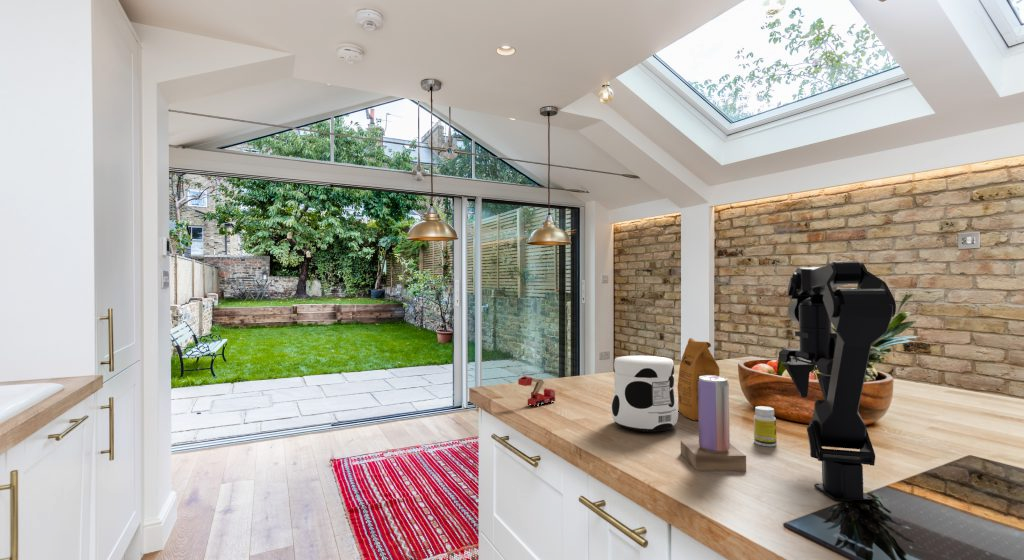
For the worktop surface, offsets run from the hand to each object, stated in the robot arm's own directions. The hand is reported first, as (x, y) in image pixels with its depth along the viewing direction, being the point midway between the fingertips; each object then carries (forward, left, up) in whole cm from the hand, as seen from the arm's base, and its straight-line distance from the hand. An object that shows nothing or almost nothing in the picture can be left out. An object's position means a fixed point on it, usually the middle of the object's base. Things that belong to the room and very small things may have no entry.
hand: (816, 402), depth 100 cm
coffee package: (+39, +11, -13) cm, 43 cm away
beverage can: (+1, +21, -10) cm, 23 cm away
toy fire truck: (+52, +57, -13) cm, 78 cm away
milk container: (+28, +29, -13) cm, 42 cm away
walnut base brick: (+2, +21, -13) cm, 25 cm away
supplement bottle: (+14, +4, -13) cm, 20 cm away
